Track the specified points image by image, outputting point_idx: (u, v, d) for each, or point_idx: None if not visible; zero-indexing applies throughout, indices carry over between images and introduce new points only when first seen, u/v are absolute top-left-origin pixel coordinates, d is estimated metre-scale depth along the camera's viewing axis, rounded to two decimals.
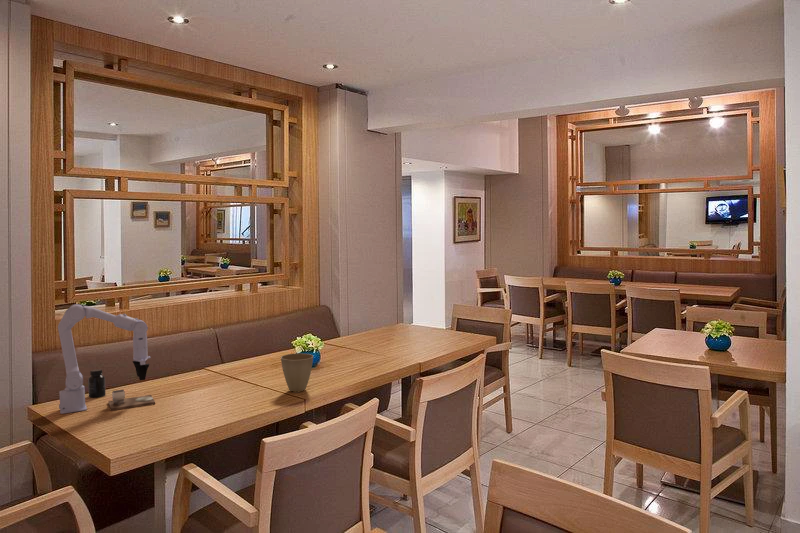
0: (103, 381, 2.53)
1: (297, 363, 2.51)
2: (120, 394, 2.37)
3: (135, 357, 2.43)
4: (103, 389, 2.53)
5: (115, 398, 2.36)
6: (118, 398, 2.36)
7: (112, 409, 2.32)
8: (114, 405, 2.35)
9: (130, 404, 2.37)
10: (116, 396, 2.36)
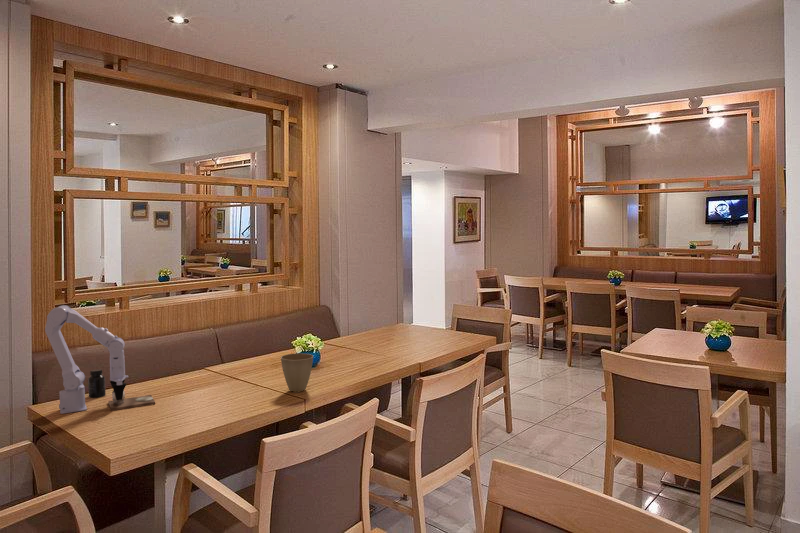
0: (103, 381, 2.53)
1: (297, 363, 2.51)
2: None
3: (112, 377, 2.35)
4: (103, 389, 2.53)
5: (115, 398, 2.36)
6: None
7: (112, 409, 2.32)
8: (114, 405, 2.35)
9: (130, 404, 2.37)
10: None
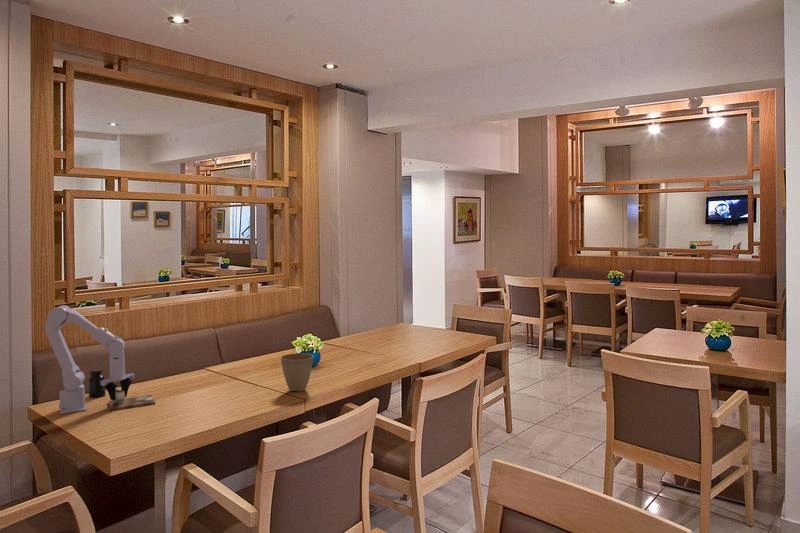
0: None
1: (297, 363, 2.51)
2: None
3: None
4: (103, 389, 2.53)
5: None
6: None
7: (112, 409, 2.32)
8: (114, 405, 2.35)
9: (130, 404, 2.37)
10: None
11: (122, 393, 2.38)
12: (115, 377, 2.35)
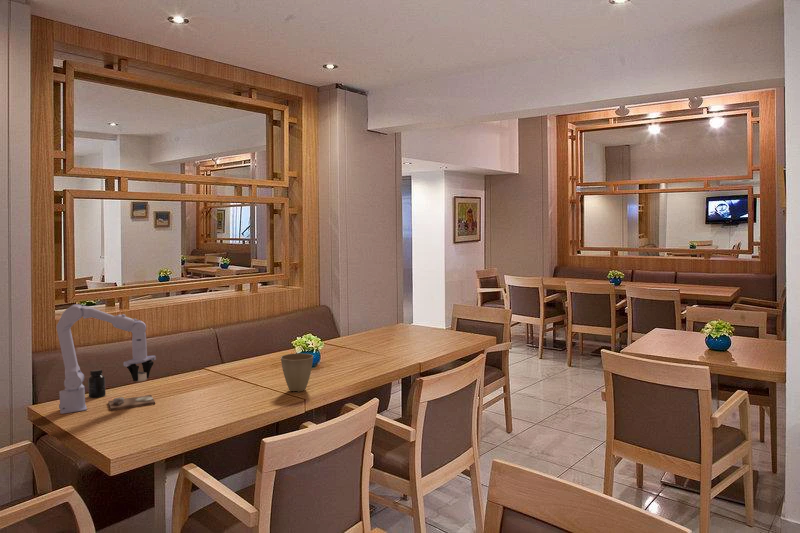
0: (103, 381, 2.53)
1: (297, 363, 2.51)
2: None
3: None
4: (103, 389, 2.53)
5: None
6: None
7: (112, 409, 2.32)
8: (114, 405, 2.35)
9: (130, 404, 2.37)
10: None
11: (144, 374, 2.42)
12: (137, 358, 2.40)
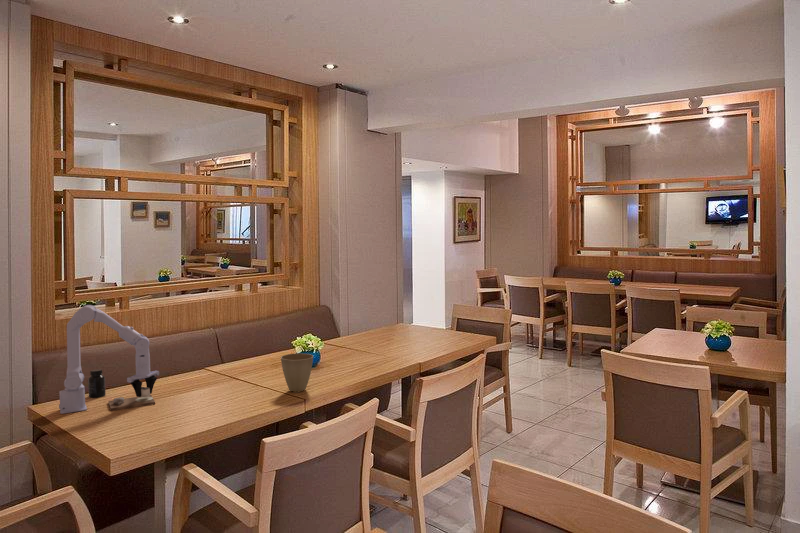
0: (103, 381, 2.53)
1: (297, 363, 2.51)
2: None
3: None
4: (103, 389, 2.53)
5: None
6: None
7: (112, 409, 2.32)
8: (114, 405, 2.35)
9: (130, 404, 2.37)
10: None
11: (148, 390, 2.43)
12: (141, 374, 2.41)
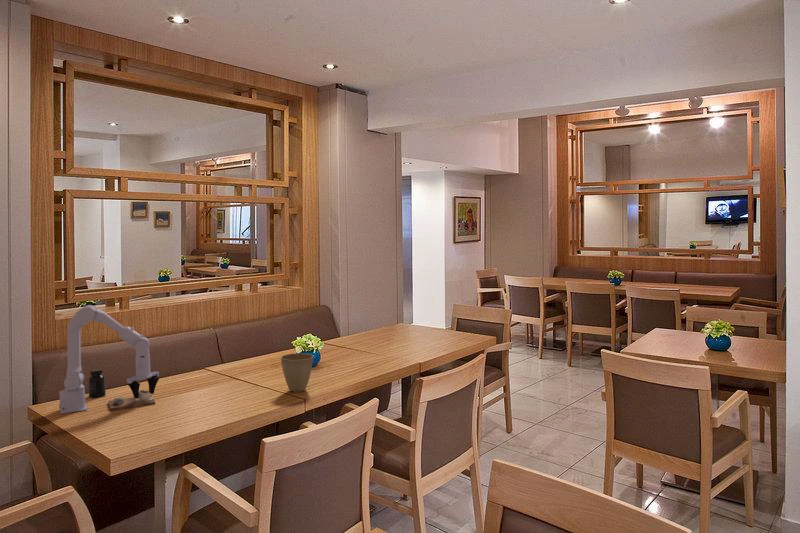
0: (103, 381, 2.53)
1: (297, 363, 2.51)
2: (140, 395, 2.41)
3: None
4: (103, 389, 2.53)
5: (138, 398, 2.43)
6: (139, 398, 2.42)
7: (112, 409, 2.32)
8: (114, 405, 2.35)
9: (130, 404, 2.37)
10: None
11: (148, 393, 2.43)
12: (141, 375, 2.41)
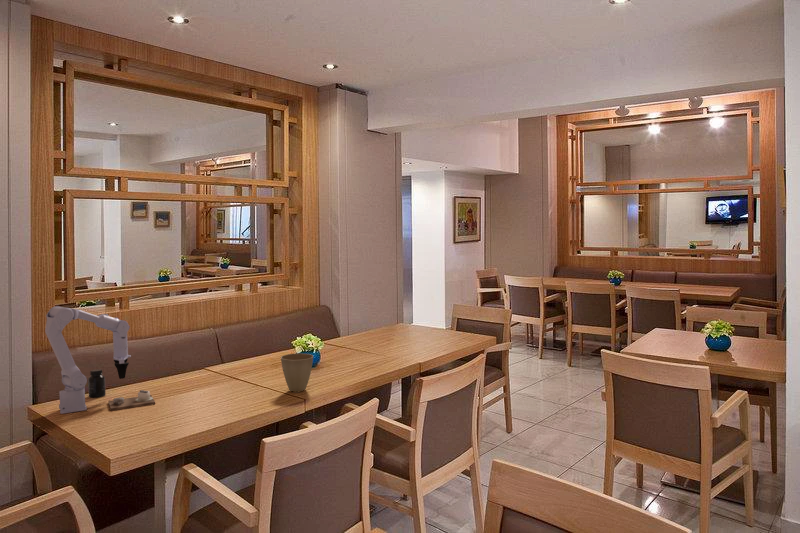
0: (103, 381, 2.53)
1: (297, 363, 2.51)
2: (140, 395, 2.41)
3: (115, 356, 2.46)
4: (103, 389, 2.53)
5: (138, 398, 2.43)
6: (139, 398, 2.42)
7: (112, 409, 2.32)
8: (114, 405, 2.35)
9: (130, 404, 2.37)
10: (138, 396, 2.42)
11: (148, 393, 2.43)
12: (125, 355, 2.47)
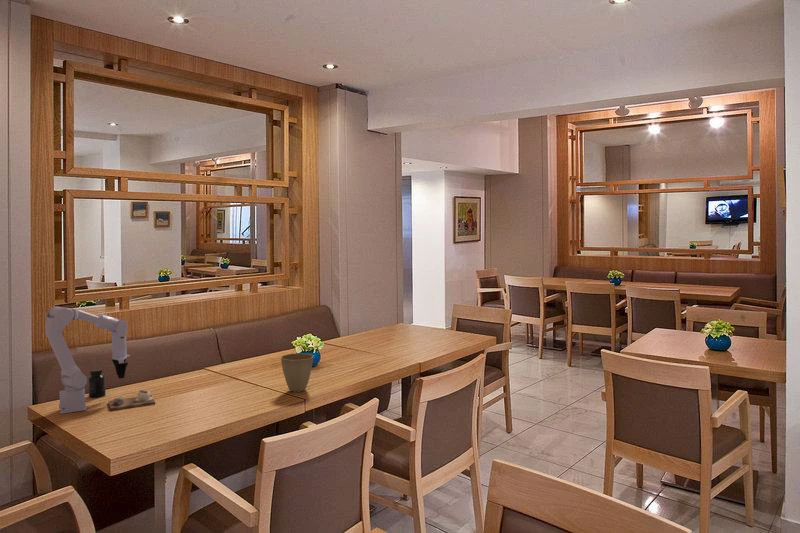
0: (103, 381, 2.53)
1: (297, 363, 2.51)
2: (140, 395, 2.41)
3: (114, 356, 2.46)
4: (103, 389, 2.53)
5: (138, 398, 2.43)
6: (139, 398, 2.42)
7: (112, 409, 2.32)
8: (114, 405, 2.35)
9: (130, 404, 2.37)
10: (138, 396, 2.42)
11: (148, 393, 2.43)
12: (124, 355, 2.48)
